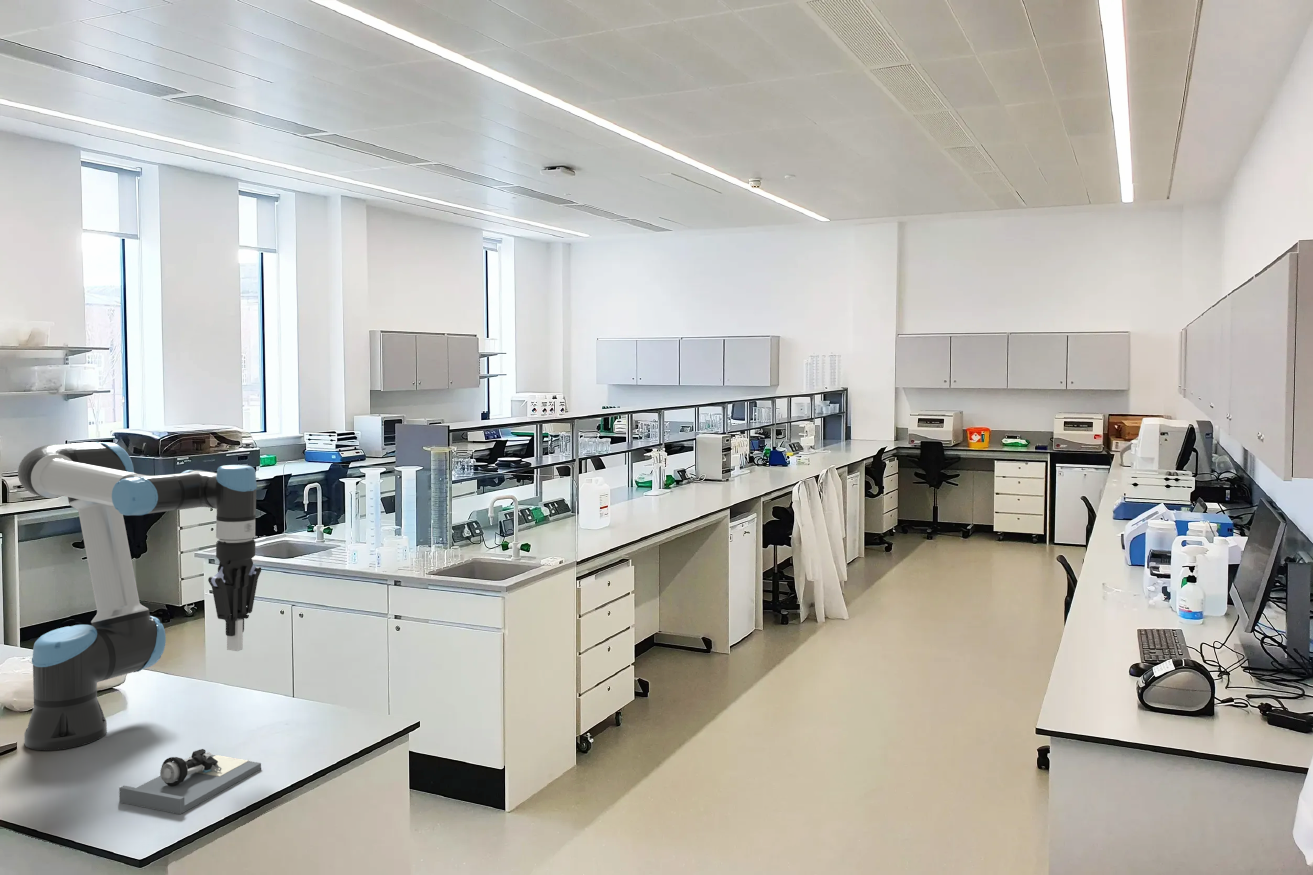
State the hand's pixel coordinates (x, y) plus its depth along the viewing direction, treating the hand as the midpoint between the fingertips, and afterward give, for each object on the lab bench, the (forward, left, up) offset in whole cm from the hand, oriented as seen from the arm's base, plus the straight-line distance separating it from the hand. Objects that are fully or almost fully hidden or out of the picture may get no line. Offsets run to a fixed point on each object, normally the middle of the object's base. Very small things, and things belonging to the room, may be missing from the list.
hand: (234, 649), depth 196 cm
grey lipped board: (+5, -16, -22) cm, 28 cm away
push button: (+4, -11, -19) cm, 23 cm away
